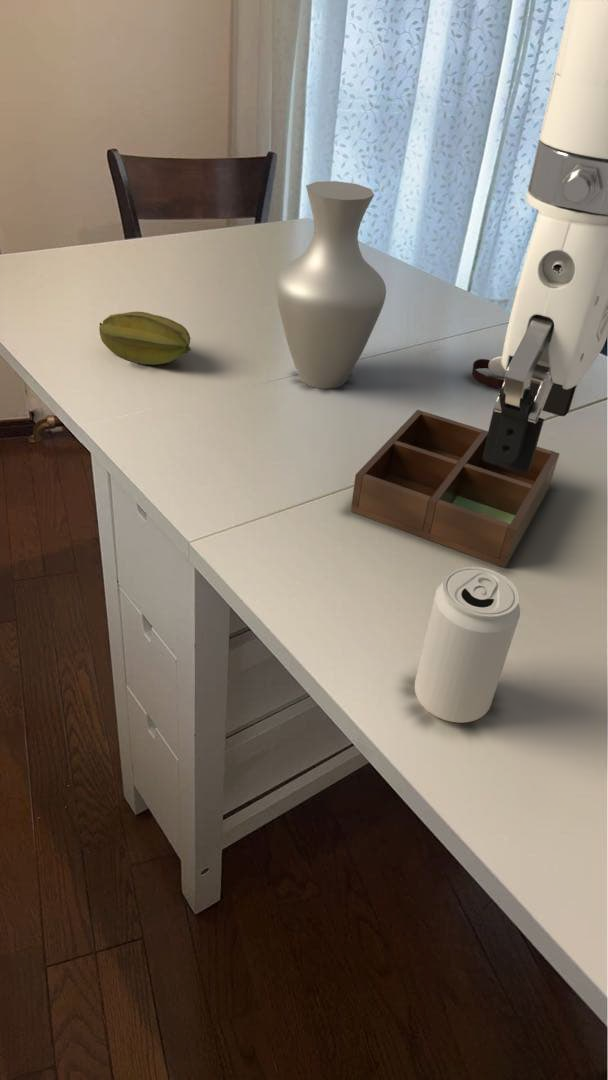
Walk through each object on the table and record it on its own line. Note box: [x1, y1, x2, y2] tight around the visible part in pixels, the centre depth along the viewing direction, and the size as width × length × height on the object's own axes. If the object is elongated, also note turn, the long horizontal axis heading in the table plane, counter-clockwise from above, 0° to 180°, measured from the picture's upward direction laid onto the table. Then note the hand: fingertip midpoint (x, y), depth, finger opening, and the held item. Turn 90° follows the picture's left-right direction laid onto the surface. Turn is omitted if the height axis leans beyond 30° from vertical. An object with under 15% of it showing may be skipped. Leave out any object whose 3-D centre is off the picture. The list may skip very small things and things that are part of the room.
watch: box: [471, 355, 506, 389], centre depth 113 cm, size 8×5×4 cm, turn 70°
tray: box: [350, 409, 560, 569], centre depth 88 cm, size 17×17×5 cm
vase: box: [274, 180, 387, 390], centre depth 104 cm, size 14×14×25 cm
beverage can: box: [414, 565, 521, 723], centre depth 63 cm, size 6×6×12 cm
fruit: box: [98, 311, 192, 366], centre depth 110 cm, size 11×12×7 cm
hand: (527, 436), depth 57 cm, fingers open, 9 cm apart
